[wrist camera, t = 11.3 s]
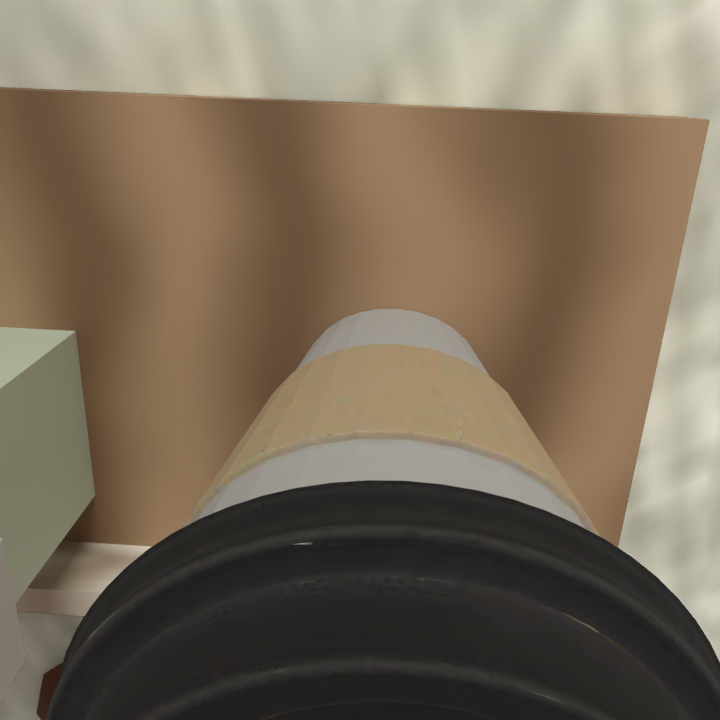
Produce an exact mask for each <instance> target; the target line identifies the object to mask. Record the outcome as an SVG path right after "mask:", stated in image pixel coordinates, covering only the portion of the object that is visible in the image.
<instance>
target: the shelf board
mask: <svg viewBox="0 0 720 720" xmlns="http://www.w3.org/2000/svg"><path fill="white" fill-rule="evenodd" d="M708 125H709V120H706V119H697V118H688V117H674V116H651V115H628V114H605V113H582V112H559V111H536V110H513V109H490V108H467V107H444V106H420V105H397V104H374V103H351V102H328V101H305V100H282V99H259V98H236V97H213V96H190V95H167V94H144V93H121V92H98V91H75V90H52V89H28V88H5V87H0V327H10V328H28V329H47V330H65V331H76V339H77V347H78V355H79V364H80V372H81V380H82V389H83V397H84V405H85V414H86V422H87V430H88V439H89V447H90V456H91V464H92V472H93V481H94V489H95V496H94V498H93V499H92V500H91V502H90V503H89V504H88V506H87V507H86V508H85V510H84V511H83V513H82V514H81V515H80V517H79V518H78V519H77V521H76V522H75V523H74V525H73V526H72V527H71V529H70V530H69V532H68V533H67V534H66V536H65V537H64V538H63V540H62V541H61V542H60V544H59V545H58V547H57V548H56V549H55V551H54V552H53V553H52V555H51V556H50V557H49V559H48V560H47V561H46V563H45V564H44V566H43V567H42V568H41V570H40V571H39V572H38V574H37V575H36V576H35V578H34V579H33V581H32V582H31V583H30V585H29V586H28V587H27V589H26V590H25V591H24V593H23V594H22V595H21V597H20V598H19V600H18V601H17V602H16V609H17V612H27V613H42V614H57V615H72V616H85V615H86V613H87V612H88V610H89V608H90V607H91V606H92V604H93V603H94V602H95V601H96V599H97V598H98V597H99V595H100V594H101V593H102V592H103V590H104V589H105V588H106V587H107V586H108V585H109V584H110V583H111V582H112V581H113V580H114V579H115V578H116V577H117V576H118V575H119V574H120V573H121V572H122V571H123V570H124V569H125V568H126V567H127V566H128V565H130V564H131V563H132V562H133V561H134V560H136V559H137V558H138V557H139V556H140V555H142V554H143V553H144V552H145V551H147V550H148V549H149V548H151V547H152V546H154V545H155V544H157V543H158V542H160V541H161V540H163V539H165V538H166V537H168V536H169V535H171V534H172V533H174V532H176V531H178V530H180V529H181V528H183V527H184V526H185V524H186V522H187V521H188V519H189V517H190V515H191V514H192V512H193V510H194V509H195V507H196V505H197V503H198V502H199V500H200V499H201V497H202V496H203V494H204V493H205V491H206V490H207V488H208V487H209V485H210V484H211V483H212V481H213V480H214V478H215V477H216V475H217V474H218V472H219V471H220V469H221V468H222V467H223V465H224V464H225V462H226V461H227V459H228V458H229V456H230V455H231V453H232V452H233V451H234V449H235V448H236V446H237V445H238V443H239V442H240V440H241V439H242V438H243V436H244V435H245V433H246V432H247V430H248V429H249V427H250V426H251V424H252V423H253V422H254V420H255V419H256V417H257V416H258V414H259V413H260V411H261V410H262V408H263V407H264V406H265V404H266V403H267V401H268V400H269V398H270V397H271V395H272V394H273V393H274V391H275V390H276V389H277V388H278V387H279V386H280V385H281V384H282V383H283V382H284V381H285V380H286V379H287V378H288V377H289V376H290V375H291V374H292V373H293V372H294V371H296V369H297V368H298V366H299V365H300V363H301V362H302V360H303V359H304V357H305V356H306V354H307V353H308V351H309V350H310V349H311V347H312V346H313V344H314V343H315V341H316V340H317V339H318V338H319V337H320V336H321V335H322V334H323V333H324V332H325V331H326V330H327V329H328V328H329V327H330V326H332V325H334V324H335V323H337V322H338V321H340V320H341V319H343V318H346V317H348V316H351V315H354V314H357V313H359V312H364V311H370V310H376V309H402V310H408V311H414V312H419V313H422V314H425V315H428V316H431V317H434V318H437V319H439V320H440V321H442V322H444V323H446V324H447V325H449V326H451V327H452V328H454V329H455V330H456V331H457V332H458V333H459V334H460V335H461V336H462V337H463V338H465V339H466V340H467V342H468V343H469V345H470V346H471V348H472V349H473V351H474V353H475V354H476V356H477V357H478V359H479V360H480V362H481V363H482V365H483V367H484V368H485V370H486V371H487V373H488V374H489V376H490V377H491V378H492V379H493V380H494V381H495V382H496V383H498V384H499V385H500V386H501V387H502V388H503V389H504V390H505V391H506V392H507V393H508V394H509V396H510V397H511V399H512V401H513V402H514V404H515V405H516V407H517V408H518V410H519V411H520V413H521V414H522V416H523V417H524V419H525V420H526V422H527V424H528V425H529V427H530V428H531V430H532V431H533V433H534V434H535V436H536V437H537V439H538V440H539V442H540V443H541V445H542V447H543V448H544V450H545V451H546V453H547V454H548V456H549V457H550V459H551V460H552V462H553V463H554V465H555V466H556V468H557V470H558V471H559V473H560V474H561V476H562V477H563V479H564V480H565V482H566V483H567V485H568V486H569V488H570V489H571V491H572V492H573V494H574V496H575V497H576V499H577V500H578V502H579V503H580V505H581V506H582V508H583V509H584V511H585V513H586V514H587V516H588V517H589V519H590V520H591V522H592V523H593V525H594V526H595V528H596V530H597V531H598V533H599V534H600V536H601V537H602V538H603V539H605V540H607V541H609V542H610V543H612V544H613V545H614V546H616V547H617V548H618V544H619V539H620V535H621V530H622V525H623V521H624V516H625V511H626V507H627V502H628V497H629V493H630V488H631V483H632V479H633V474H634V470H635V465H636V460H637V456H638V451H639V446H640V442H641V437H642V432H643V428H644V423H645V418H646V414H647V409H648V404H649V400H650V395H651V390H652V386H653V381H654V376H655V372H656V367H657V362H658V358H659V353H660V348H661V344H662V339H663V335H664V330H665V325H666V321H667V316H668V311H669V307H670V302H671V297H672V293H673V288H674V283H675V279H676V274H677V269H678V265H679V260H680V255H681V251H682V246H683V241H684V237H685V232H686V227H687V223H688V218H689V213H690V209H691V204H692V199H693V195H694V190H695V186H696V181H697V176H698V172H699V167H700V162H701V158H702V153H703V148H704V144H705V139H706V134H707V130H708Z"/></svg>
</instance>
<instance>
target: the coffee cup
mask: <svg viewBox="0 0 720 720" xmlns="http://www.w3.org/2000/svg"><path fill="white" fill-rule="evenodd" d="M45 720H720V662H719V660H718V658H717V656H716V654H715V652H714V650H713V648H712V646H711V644H710V642H709V640H708V639H707V637H706V636H705V634H704V633H703V631H702V629H701V628H700V626H699V625H698V623H697V621H696V620H695V619H694V618H693V616H692V615H691V614H690V613H689V611H688V610H687V609H686V608H685V606H684V605H683V604H682V603H681V601H680V600H679V599H678V598H677V597H676V596H675V595H674V594H673V593H672V592H671V591H670V590H669V589H668V588H667V587H666V586H665V585H664V584H663V583H662V582H661V581H660V580H659V579H658V578H657V577H656V576H655V575H653V574H652V573H651V572H650V571H649V570H647V569H646V568H645V567H644V566H642V565H641V564H640V563H639V562H637V561H636V560H635V559H634V558H632V557H631V556H629V555H628V554H626V553H625V552H623V551H622V550H620V549H619V548H617V547H616V546H614V545H613V544H612V543H610V542H609V541H607V540H605V539H603V538H602V537H601V536H600V534H599V533H598V531H597V530H596V528H595V526H594V525H593V523H592V522H591V520H590V519H589V517H588V516H587V514H586V513H585V511H584V509H583V508H582V506H581V505H580V503H579V502H578V500H577V499H576V497H575V496H574V494H573V492H572V491H571V489H570V488H569V486H568V485H567V483H566V482H565V480H564V479H563V477H562V476H561V474H560V473H559V471H558V470H557V468H556V466H555V465H554V463H553V462H552V460H551V459H550V457H549V456H548V454H547V453H546V451H545V450H544V448H543V447H542V445H541V443H540V442H539V440H538V439H537V437H536V436H535V434H534V433H533V431H532V430H531V428H530V427H529V425H528V424H527V422H526V420H525V419H524V417H523V416H522V414H521V413H520V411H519V410H518V408H517V407H516V405H515V404H514V402H513V401H512V399H511V397H510V396H509V394H508V393H507V392H506V391H505V390H504V389H503V388H502V387H501V386H500V385H499V384H498V383H496V382H495V381H494V380H493V379H492V378H491V377H490V376H489V374H488V373H487V371H486V370H485V368H484V367H483V365H482V363H481V362H480V360H479V359H478V357H477V356H476V354H475V353H474V351H473V349H472V348H471V346H470V345H469V343H468V342H467V340H466V339H465V338H463V337H462V336H461V335H460V334H459V333H458V332H457V331H456V330H455V329H454V328H452V327H451V326H449V325H447V324H446V323H444V322H442V321H440V320H439V319H437V318H434V317H431V316H428V315H425V314H422V313H419V312H414V311H408V310H402V309H376V310H370V311H364V312H359V313H357V314H354V315H351V316H348V317H346V318H343V319H341V320H340V321H338V322H337V323H335V324H334V325H332V326H330V327H329V328H328V329H327V330H326V331H325V332H324V333H323V334H322V335H321V336H320V337H319V338H318V339H317V340H316V341H315V343H314V344H313V346H312V347H311V349H310V350H309V351H308V353H307V354H306V356H305V357H304V359H303V360H302V362H301V363H300V365H299V366H298V368H297V369H296V371H294V372H293V373H292V374H291V375H290V376H289V377H288V378H287V379H286V380H285V381H284V382H283V383H282V384H281V385H280V386H279V387H278V388H277V389H276V390H275V391H274V393H273V394H272V395H271V397H270V398H269V400H268V401H267V403H266V404H265V406H264V407H263V408H262V410H261V411H260V413H259V414H258V416H257V417H256V419H255V420H254V422H253V423H252V424H251V426H250V427H249V429H248V430H247V432H246V433H245V435H244V436H243V438H242V439H241V440H240V442H239V443H238V445H237V446H236V448H235V449H234V451H233V452H232V453H231V455H230V456H229V458H228V459H227V461H226V462H225V464H224V465H223V467H222V468H221V469H220V471H219V472H218V474H217V475H216V477H215V478H214V480H213V481H212V483H211V484H210V485H209V487H208V488H207V490H206V491H205V493H204V494H203V496H202V497H201V499H200V500H199V502H198V503H197V505H196V507H195V509H194V510H193V512H192V514H191V515H190V517H189V519H188V521H187V522H186V524H185V526H184V527H183V528H181V529H180V530H178V531H176V532H174V533H172V534H171V535H169V536H168V537H166V538H165V539H163V540H161V541H160V542H158V543H157V544H155V545H154V546H152V547H151V548H149V549H148V550H147V551H145V552H144V553H143V554H142V555H140V556H139V557H138V558H137V559H136V560H134V561H133V562H132V563H131V564H130V565H128V566H127V567H126V568H125V569H124V570H123V571H122V572H121V573H120V574H119V575H118V576H117V577H116V578H115V579H114V580H113V581H112V582H111V583H110V584H109V585H108V586H107V587H106V588H105V589H104V590H103V592H102V593H101V594H100V595H99V597H98V598H97V599H96V601H95V602H94V603H93V604H92V606H91V607H90V608H89V610H88V612H87V613H86V615H85V616H84V618H83V620H82V621H81V623H80V624H79V626H78V628H77V630H76V632H75V634H74V636H73V638H72V640H71V643H70V645H69V647H68V649H67V652H66V655H65V658H64V661H63V664H62V667H61V670H60V674H59V679H58V685H57V688H56V690H55V692H54V694H53V696H52V699H51V702H50V705H49V709H48V712H47V715H46V718H45Z"/></svg>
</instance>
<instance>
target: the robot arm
mask: <svg viewBox="0 0 720 720" xmlns="http://www.w3.org/2000/svg"><path fill="white" fill-rule="evenodd" d="M25 661H26V655H25V650H24V645H23V640H22V635H21V630H20V625H19V620H18V614H17V609H16V604H15V599H14V594H13V589H12V584H11V579H10V573H9V568H8V563H7V558H6V553H5V548H4V543H3V538H0V701H1V699H2V698H3V696H4V695H5V693H6V691H7V690H8V688H9V687H10V685H11V683H12V682H13V680H14V679H15V677H16V675H17V674H18V672H19V670H20V669H21V667H22V666H23V664H24V662H25Z"/></svg>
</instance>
